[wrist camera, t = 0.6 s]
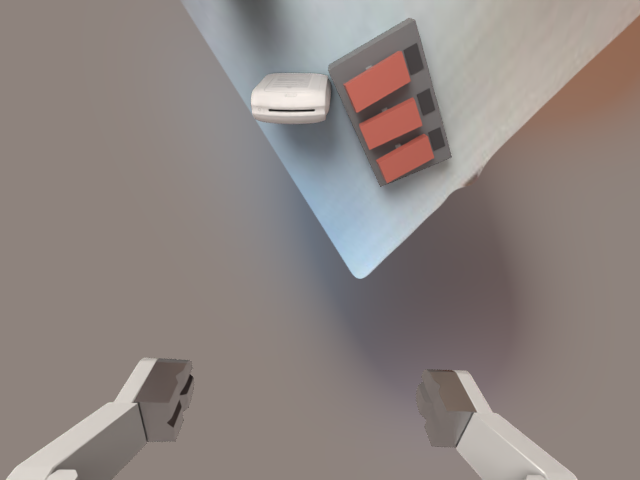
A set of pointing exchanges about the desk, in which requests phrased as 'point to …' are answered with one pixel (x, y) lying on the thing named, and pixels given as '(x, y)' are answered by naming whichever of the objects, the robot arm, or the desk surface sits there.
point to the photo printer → (292, 98)
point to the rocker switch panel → (394, 93)
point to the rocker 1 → (377, 81)
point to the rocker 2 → (391, 123)
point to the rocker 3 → (405, 158)
